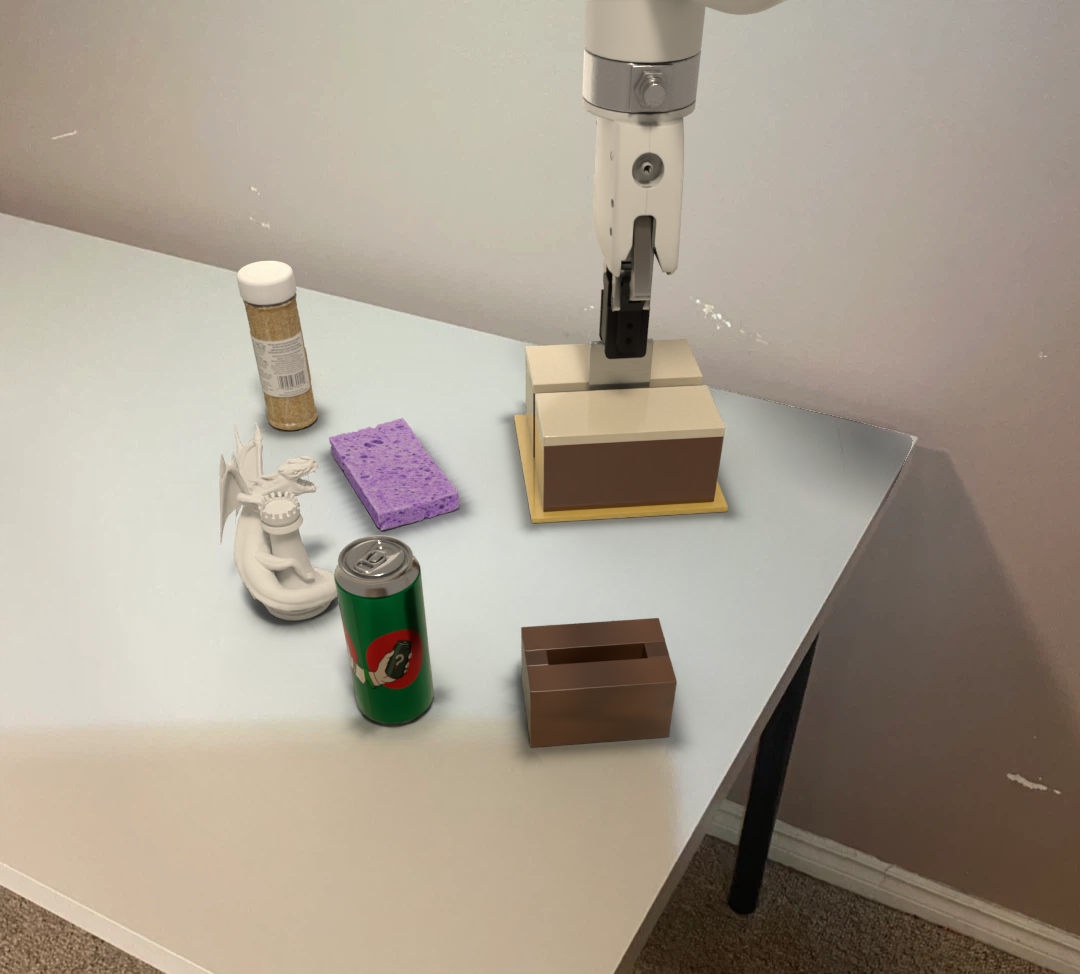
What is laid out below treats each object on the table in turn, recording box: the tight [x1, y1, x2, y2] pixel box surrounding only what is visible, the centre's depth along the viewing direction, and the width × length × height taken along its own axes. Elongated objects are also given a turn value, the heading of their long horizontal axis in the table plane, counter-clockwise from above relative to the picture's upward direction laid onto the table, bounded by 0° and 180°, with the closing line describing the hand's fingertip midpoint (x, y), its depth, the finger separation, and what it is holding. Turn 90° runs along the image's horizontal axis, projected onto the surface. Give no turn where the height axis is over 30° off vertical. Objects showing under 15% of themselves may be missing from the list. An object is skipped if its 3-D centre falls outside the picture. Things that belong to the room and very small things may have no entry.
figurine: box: [219, 421, 338, 622], centre depth 72 cm, size 11×8×12 cm
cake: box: [513, 338, 729, 524], centre depth 85 cm, size 16×16×7 cm
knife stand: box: [520, 617, 678, 748], centre depth 65 cm, size 9×6×5 cm, turn 96°
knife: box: [588, 272, 654, 391], centre depth 80 cm, size 5×2×12 cm, turn 96°
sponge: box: [328, 417, 461, 531], centre depth 85 cm, size 7×13×2 cm, turn 26°
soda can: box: [333, 534, 434, 725], centre depth 63 cm, size 5×5×12 cm
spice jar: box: [236, 260, 318, 431], centre depth 87 cm, size 5×5×13 cm
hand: (622, 346), depth 80 cm, fingers closed on knife, 2 cm apart
